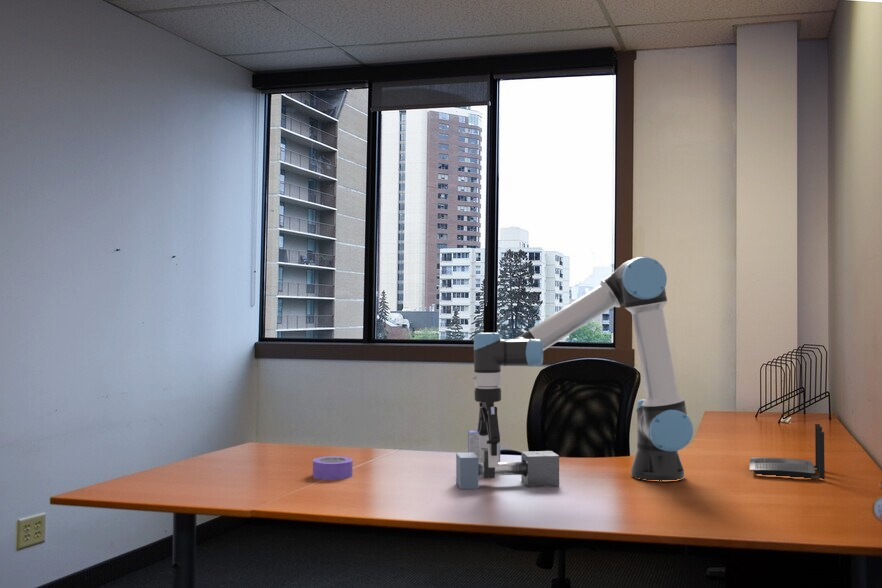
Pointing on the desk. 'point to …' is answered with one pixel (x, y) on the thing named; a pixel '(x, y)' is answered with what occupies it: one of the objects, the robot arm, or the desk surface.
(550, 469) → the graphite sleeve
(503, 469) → the metal rod with block
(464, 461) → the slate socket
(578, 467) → the desk surface
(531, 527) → the desk surface
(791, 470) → the router
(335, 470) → the tape roll
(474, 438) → the ink cartridge box
